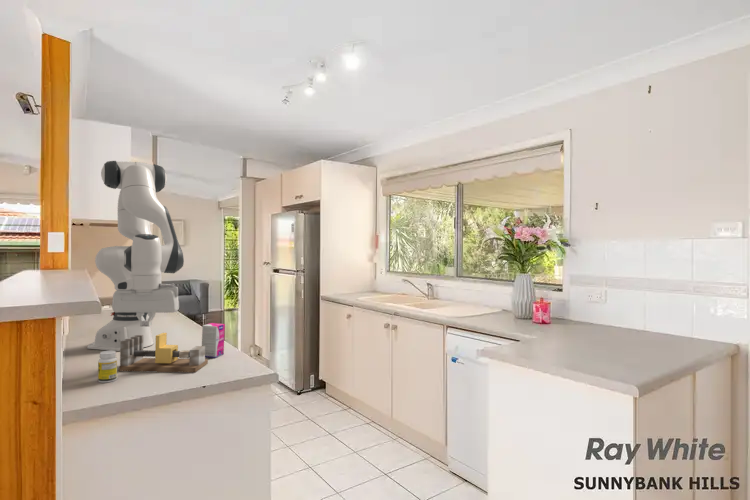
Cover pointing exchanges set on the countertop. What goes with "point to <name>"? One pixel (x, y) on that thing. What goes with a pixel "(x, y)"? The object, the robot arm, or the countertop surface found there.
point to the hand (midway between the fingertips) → (145, 326)
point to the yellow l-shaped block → (164, 350)
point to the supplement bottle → (107, 367)
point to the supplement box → (213, 339)
